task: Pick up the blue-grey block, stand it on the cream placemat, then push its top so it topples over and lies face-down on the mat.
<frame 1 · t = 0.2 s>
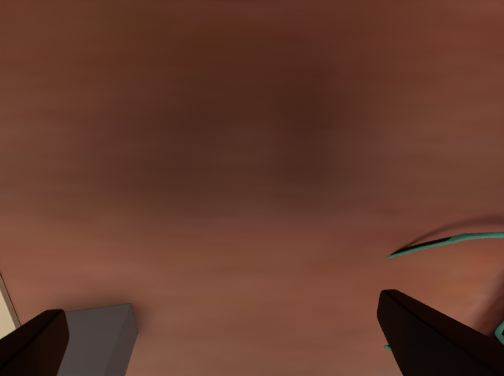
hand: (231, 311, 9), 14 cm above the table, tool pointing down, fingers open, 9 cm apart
sunglasses: (457, 287, 29), on the table
blue-grey block: (96, 323, 25), on the table
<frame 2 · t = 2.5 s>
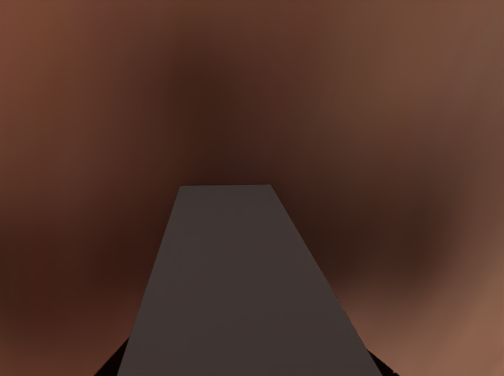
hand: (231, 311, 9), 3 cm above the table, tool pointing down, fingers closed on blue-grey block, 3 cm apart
blue-grey block: (226, 264, 11), on the table, touching gripper
when the fingers open (3 cm above the table, at t = 6.2 s): blue-grey block stays where it is, resting on placemat.
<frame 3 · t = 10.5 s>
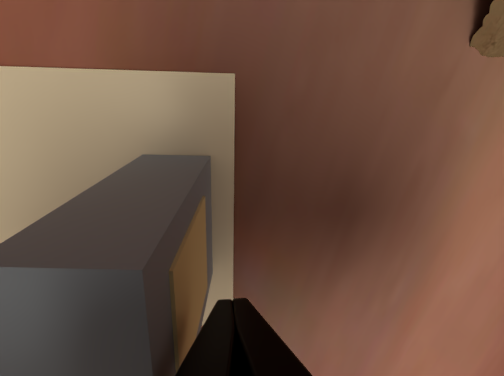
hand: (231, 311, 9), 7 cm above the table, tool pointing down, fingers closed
placemat: (86, 214, 15), on the table
blue-grey block: (180, 217, 15), point 1 cm above the table, tilted 7°, touching gripper, placemat
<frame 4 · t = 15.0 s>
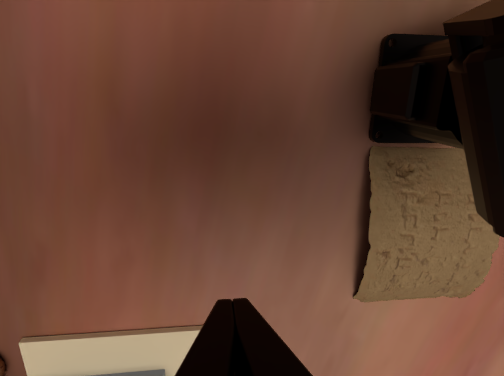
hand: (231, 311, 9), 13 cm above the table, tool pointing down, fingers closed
clay tablet: (413, 225, 24), on the table
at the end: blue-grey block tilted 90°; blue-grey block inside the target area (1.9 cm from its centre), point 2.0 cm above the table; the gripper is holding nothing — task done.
